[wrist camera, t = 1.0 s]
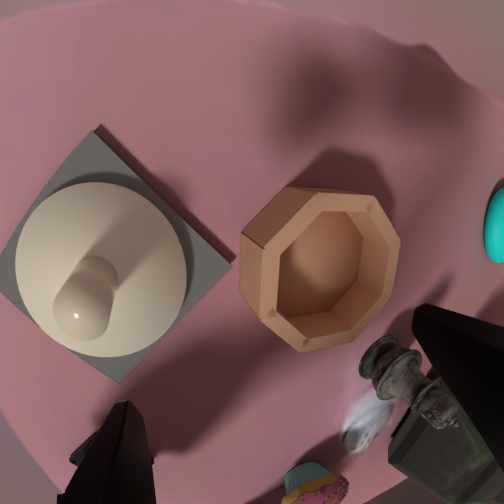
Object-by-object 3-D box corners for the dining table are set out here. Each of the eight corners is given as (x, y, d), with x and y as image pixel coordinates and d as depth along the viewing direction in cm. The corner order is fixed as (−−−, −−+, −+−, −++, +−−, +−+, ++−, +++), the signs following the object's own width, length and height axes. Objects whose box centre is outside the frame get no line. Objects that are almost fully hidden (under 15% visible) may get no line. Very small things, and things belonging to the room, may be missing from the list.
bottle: (374, 451, 35) (483, 571, 8) (425, 365, 32) (581, 489, 4) (437, 424, 42) (530, 508, 14) (478, 351, 38) (594, 431, 11)
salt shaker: (370, 333, 26) (462, 406, 15) (407, 332, 28) (490, 391, 17) (347, 383, 27) (422, 461, 16) (385, 378, 29) (456, 441, 18)
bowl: (298, 342, 23) (322, 371, 20) (208, 264, 19) (222, 289, 16) (381, 253, 24) (414, 267, 20) (315, 157, 19) (349, 158, 16)
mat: (119, 378, 19) (119, 383, 19) (-9, 276, 14) (-13, 279, 14) (230, 263, 20) (232, 266, 19) (93, 131, 15) (91, 130, 14)
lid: (117, 376, 19) (114, 430, 14) (-5, 278, 14) (-42, 314, 9) (221, 266, 19) (246, 303, 14) (91, 142, 14) (65, 133, 10)
